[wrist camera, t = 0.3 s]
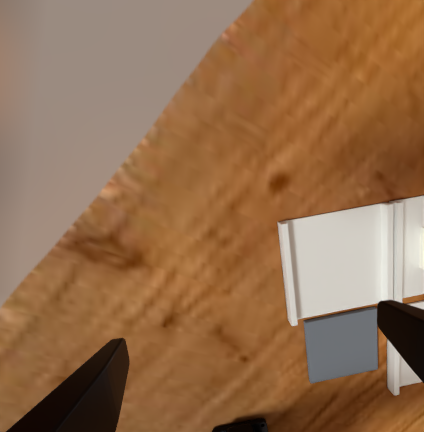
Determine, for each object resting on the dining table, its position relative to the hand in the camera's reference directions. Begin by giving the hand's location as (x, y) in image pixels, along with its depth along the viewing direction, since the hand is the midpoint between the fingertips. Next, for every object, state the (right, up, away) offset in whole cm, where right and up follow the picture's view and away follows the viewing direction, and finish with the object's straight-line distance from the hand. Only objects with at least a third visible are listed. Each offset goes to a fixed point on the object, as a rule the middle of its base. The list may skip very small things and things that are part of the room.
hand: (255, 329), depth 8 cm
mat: (+13, -11, +18) cm, 24 cm away
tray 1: (+11, -1, +16) cm, 19 cm away
